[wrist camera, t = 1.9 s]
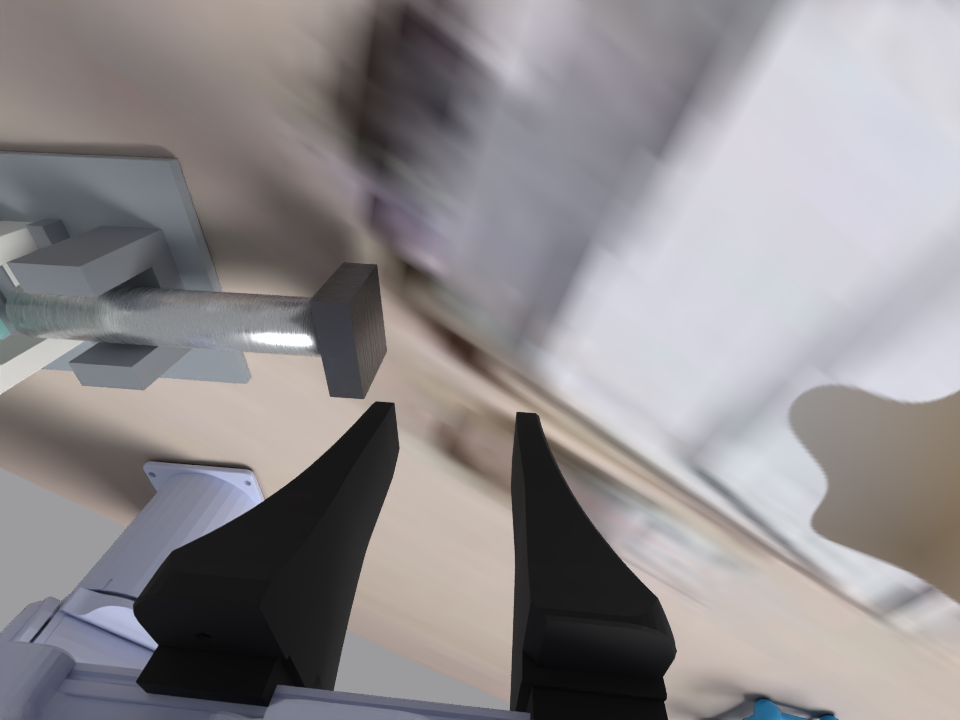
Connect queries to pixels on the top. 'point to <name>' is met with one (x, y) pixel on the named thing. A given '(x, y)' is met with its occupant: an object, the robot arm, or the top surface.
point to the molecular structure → (775, 712)
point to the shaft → (228, 322)
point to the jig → (111, 254)
